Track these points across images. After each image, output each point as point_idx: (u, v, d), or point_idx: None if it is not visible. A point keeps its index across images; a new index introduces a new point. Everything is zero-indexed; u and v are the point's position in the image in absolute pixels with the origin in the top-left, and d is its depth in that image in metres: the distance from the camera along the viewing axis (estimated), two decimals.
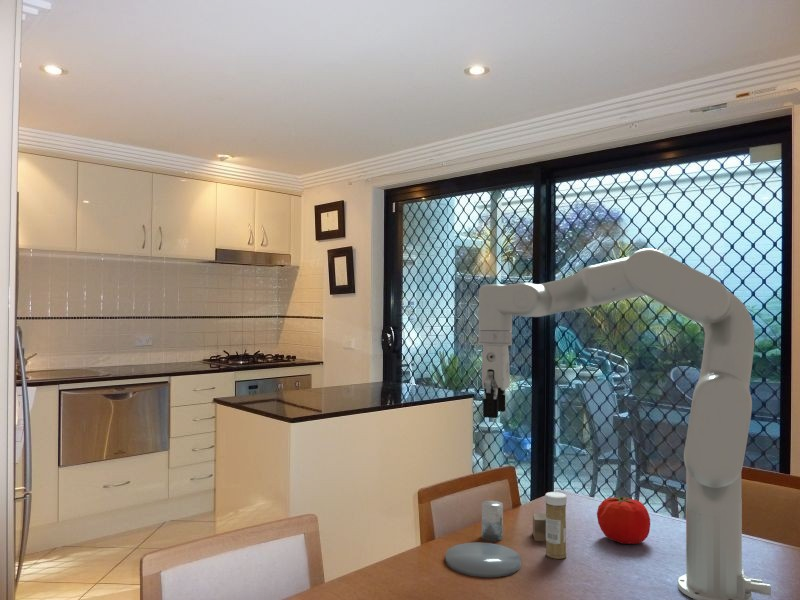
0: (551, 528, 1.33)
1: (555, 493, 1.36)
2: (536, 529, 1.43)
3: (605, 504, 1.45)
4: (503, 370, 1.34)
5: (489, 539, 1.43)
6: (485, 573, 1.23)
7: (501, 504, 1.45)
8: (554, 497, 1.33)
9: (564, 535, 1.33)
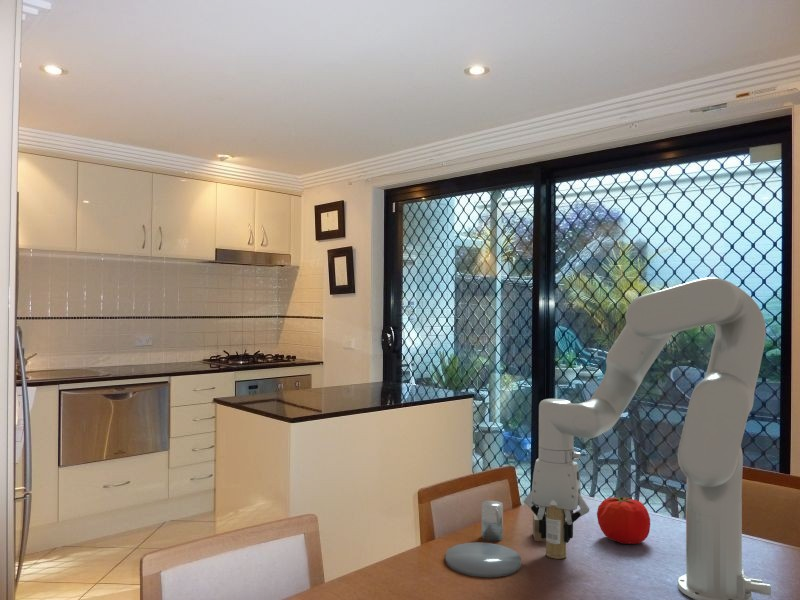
0: (551, 528, 1.33)
1: None
2: (536, 529, 1.43)
3: (605, 504, 1.45)
4: None
5: (489, 539, 1.43)
6: (485, 573, 1.23)
7: (501, 504, 1.45)
8: None
9: None
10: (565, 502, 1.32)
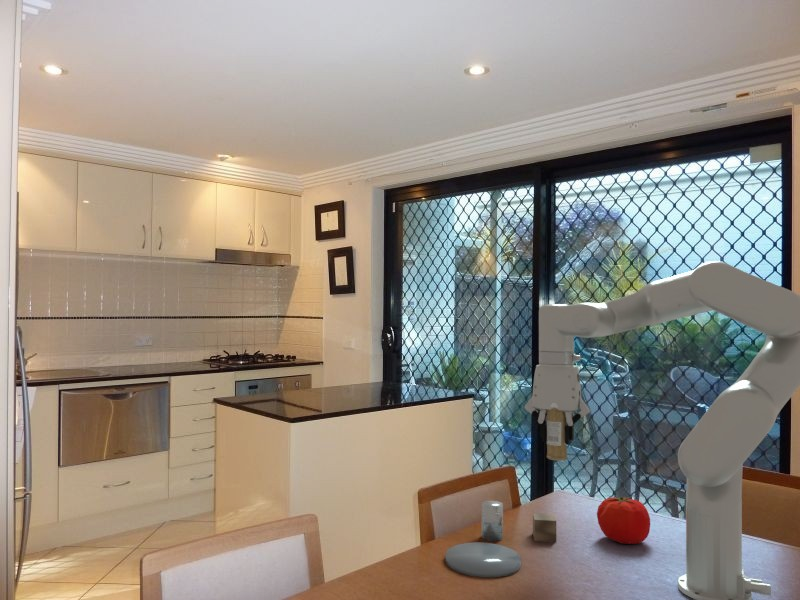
0: (552, 430, 1.34)
1: None
2: (536, 529, 1.43)
3: (605, 504, 1.45)
4: None
5: (489, 539, 1.43)
6: (485, 573, 1.23)
7: (501, 504, 1.45)
8: None
9: None
10: (566, 403, 1.32)
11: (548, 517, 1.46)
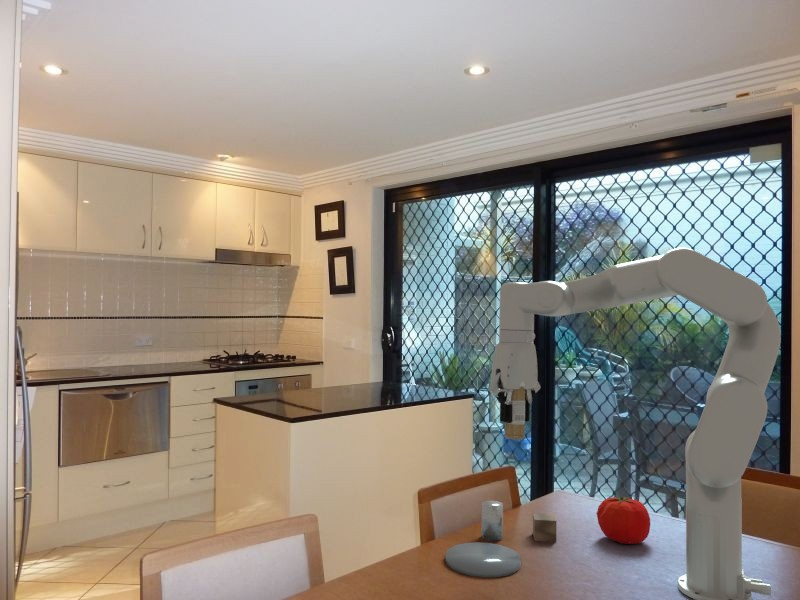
0: (520, 409, 1.32)
1: None
2: (536, 529, 1.43)
3: (606, 504, 1.45)
4: None
5: (489, 539, 1.43)
6: (485, 573, 1.23)
7: (501, 504, 1.45)
8: None
9: None
10: (531, 381, 1.34)
11: (548, 517, 1.46)
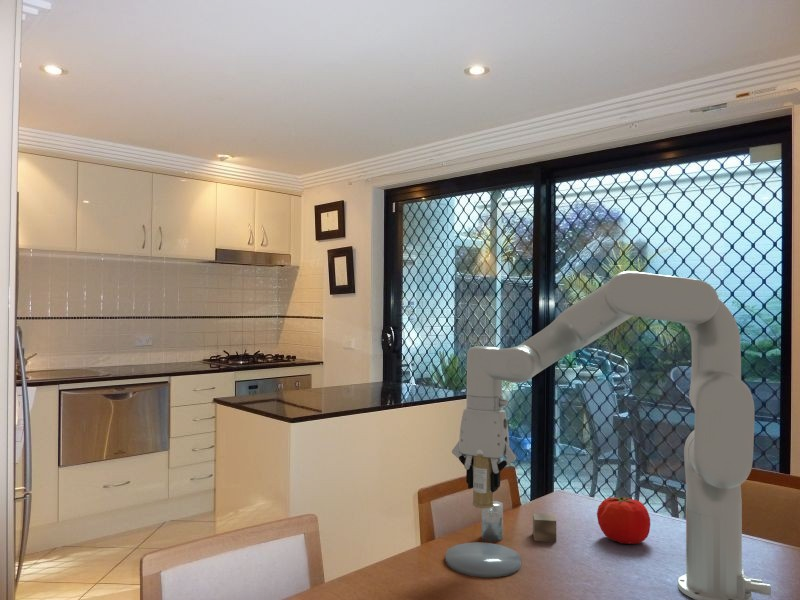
0: (477, 477, 1.30)
1: None
2: (536, 529, 1.43)
3: (606, 504, 1.45)
4: None
5: (489, 539, 1.43)
6: (485, 573, 1.23)
7: (501, 504, 1.45)
8: None
9: None
10: (491, 450, 1.28)
11: (548, 517, 1.46)
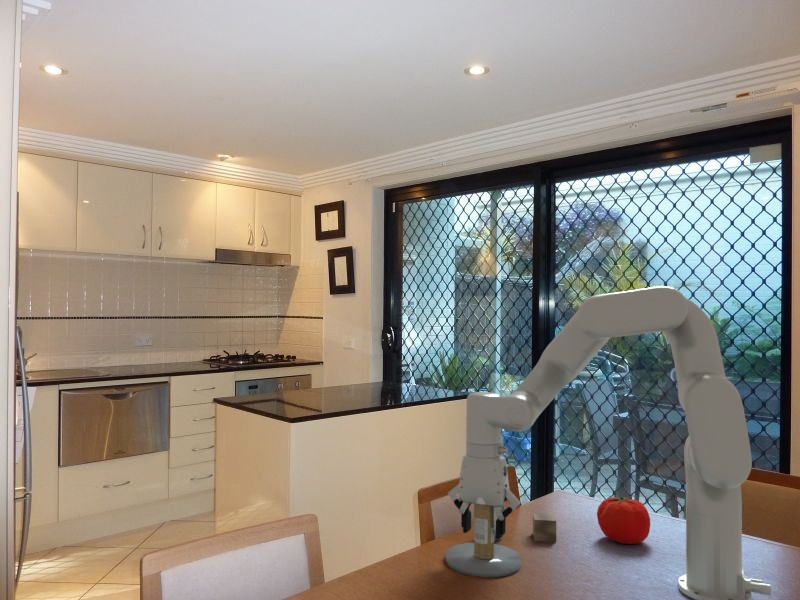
0: (478, 527, 1.29)
1: None
2: (536, 529, 1.43)
3: (606, 504, 1.45)
4: None
5: None
6: (485, 573, 1.23)
7: None
8: None
9: (492, 535, 1.29)
10: (491, 498, 1.28)
11: (548, 517, 1.46)
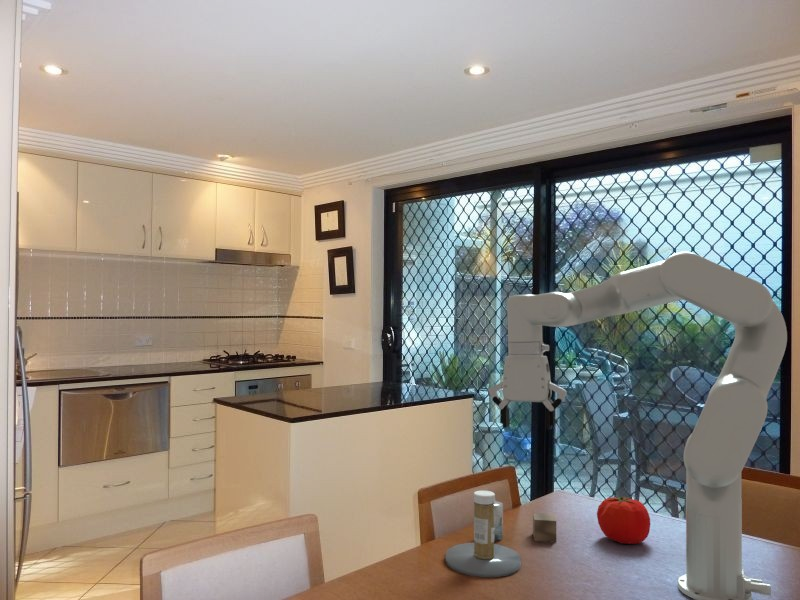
0: (478, 527, 1.29)
1: (484, 492, 1.32)
2: (536, 529, 1.43)
3: (605, 504, 1.45)
4: None
5: None
6: (485, 573, 1.23)
7: (501, 504, 1.45)
8: (481, 496, 1.29)
9: (492, 535, 1.29)
10: (535, 393, 1.32)
11: (548, 517, 1.46)
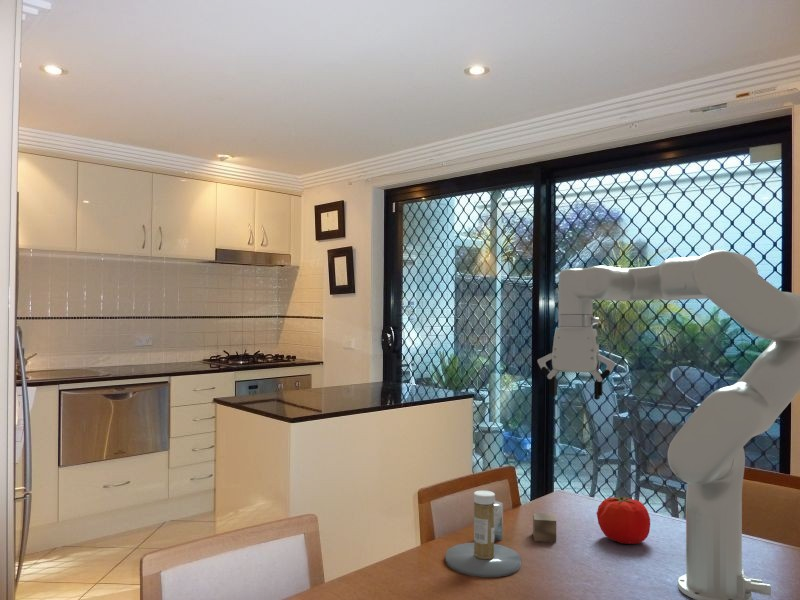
0: (478, 527, 1.29)
1: (484, 492, 1.32)
2: (536, 529, 1.44)
3: (605, 504, 1.45)
4: None
5: None
6: (485, 573, 1.23)
7: (501, 504, 1.45)
8: (481, 496, 1.29)
9: (492, 535, 1.29)
10: (585, 364, 1.37)
11: (548, 517, 1.46)
